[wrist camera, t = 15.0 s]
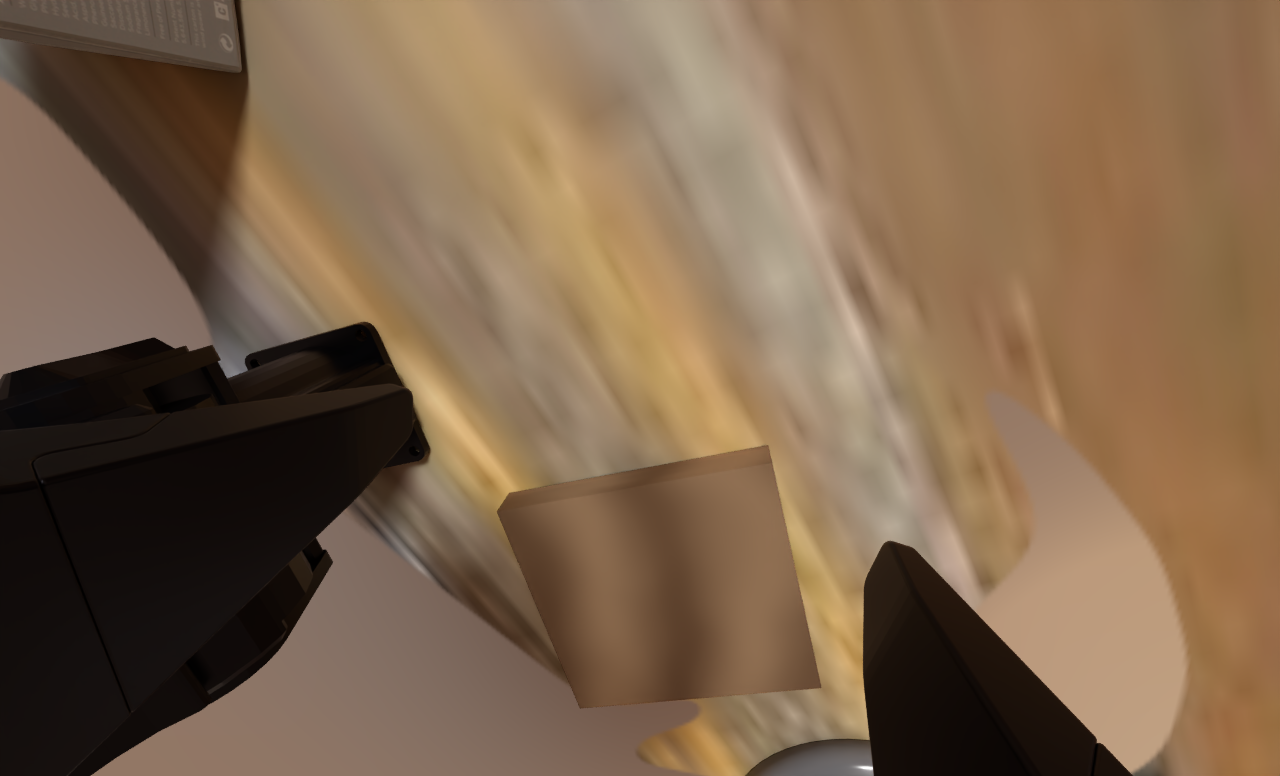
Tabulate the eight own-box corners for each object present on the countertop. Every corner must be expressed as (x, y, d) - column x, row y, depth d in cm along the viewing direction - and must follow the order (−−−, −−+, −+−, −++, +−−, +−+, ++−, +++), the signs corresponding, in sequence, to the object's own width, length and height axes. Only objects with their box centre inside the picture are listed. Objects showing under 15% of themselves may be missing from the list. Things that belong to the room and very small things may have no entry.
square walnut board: (586, 682, 28) (580, 708, 26) (509, 493, 24) (496, 511, 23) (815, 660, 25) (821, 687, 24) (768, 445, 22) (772, 462, 20)
